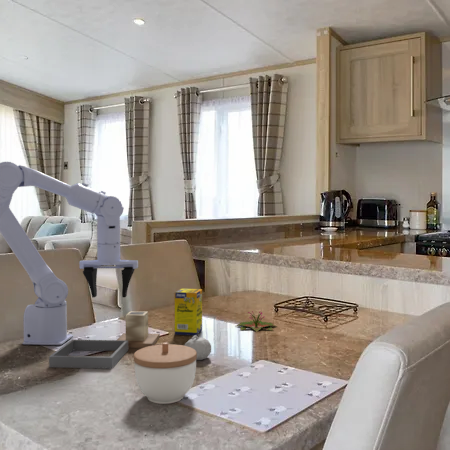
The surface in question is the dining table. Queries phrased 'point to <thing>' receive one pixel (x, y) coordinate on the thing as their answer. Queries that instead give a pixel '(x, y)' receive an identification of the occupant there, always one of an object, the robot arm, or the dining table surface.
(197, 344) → the garlic
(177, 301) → the supplement box
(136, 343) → the coaster
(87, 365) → the bin
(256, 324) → the lily flower
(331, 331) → the dining table surface
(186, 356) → the lidded jar
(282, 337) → the dining table surface
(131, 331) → the box
